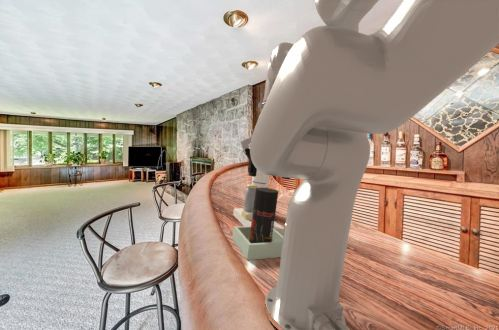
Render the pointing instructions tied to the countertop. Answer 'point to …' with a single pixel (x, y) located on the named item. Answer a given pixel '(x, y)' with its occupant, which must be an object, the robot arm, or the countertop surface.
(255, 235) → the deodorant
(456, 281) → the countertop surface
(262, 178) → the cylindrical container
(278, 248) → the tray
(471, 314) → the countertop surface
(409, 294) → the countertop surface
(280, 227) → the fuse block
